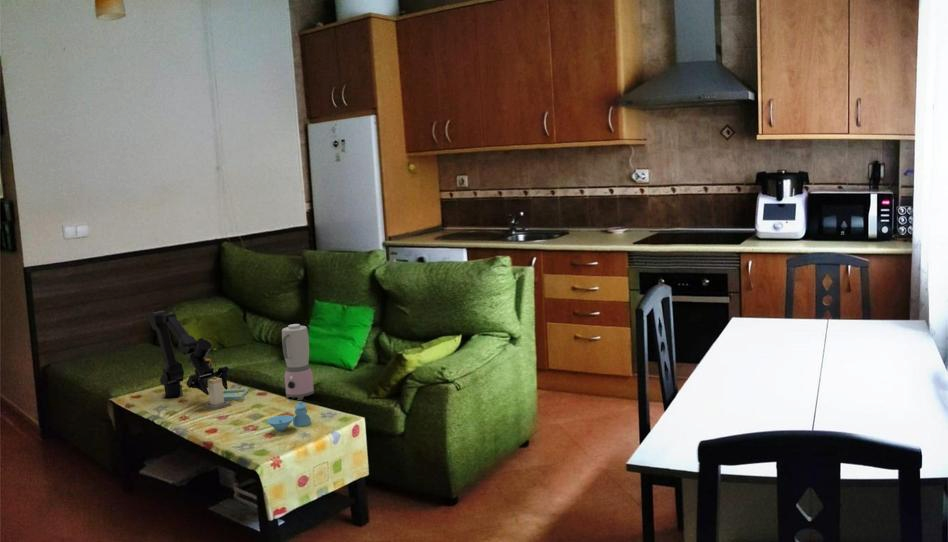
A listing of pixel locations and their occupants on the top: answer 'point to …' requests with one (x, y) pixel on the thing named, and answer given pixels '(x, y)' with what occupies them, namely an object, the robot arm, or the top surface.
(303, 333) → the blender
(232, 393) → the parts tray
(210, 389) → the block
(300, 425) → the blue small pieces
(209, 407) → the small gray square tray
